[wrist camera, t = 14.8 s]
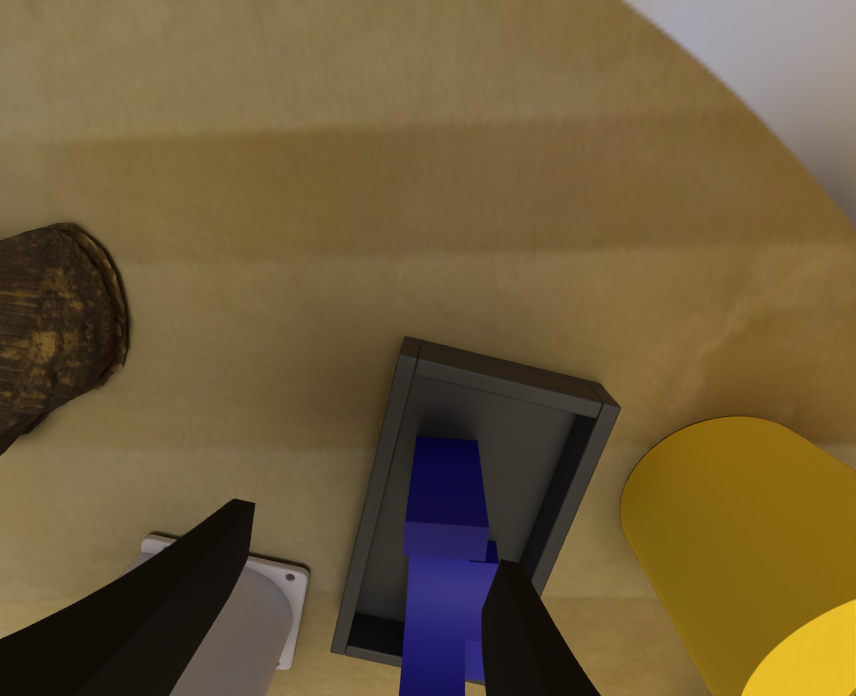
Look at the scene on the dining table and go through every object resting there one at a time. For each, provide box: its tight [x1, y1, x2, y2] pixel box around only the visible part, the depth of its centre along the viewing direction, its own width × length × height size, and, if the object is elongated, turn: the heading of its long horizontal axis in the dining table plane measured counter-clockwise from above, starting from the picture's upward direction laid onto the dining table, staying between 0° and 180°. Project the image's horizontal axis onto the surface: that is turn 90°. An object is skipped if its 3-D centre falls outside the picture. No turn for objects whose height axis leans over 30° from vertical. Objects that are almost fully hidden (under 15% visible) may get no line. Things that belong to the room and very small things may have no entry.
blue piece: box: [399, 436, 499, 696], centre depth 20 cm, size 12×4×6 cm, turn 177°
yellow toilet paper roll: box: [620, 416, 856, 696], centre depth 17 cm, size 10×10×9 cm
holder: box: [330, 337, 621, 686], centre depth 21 cm, size 10×18×3 cm, turn 166°
